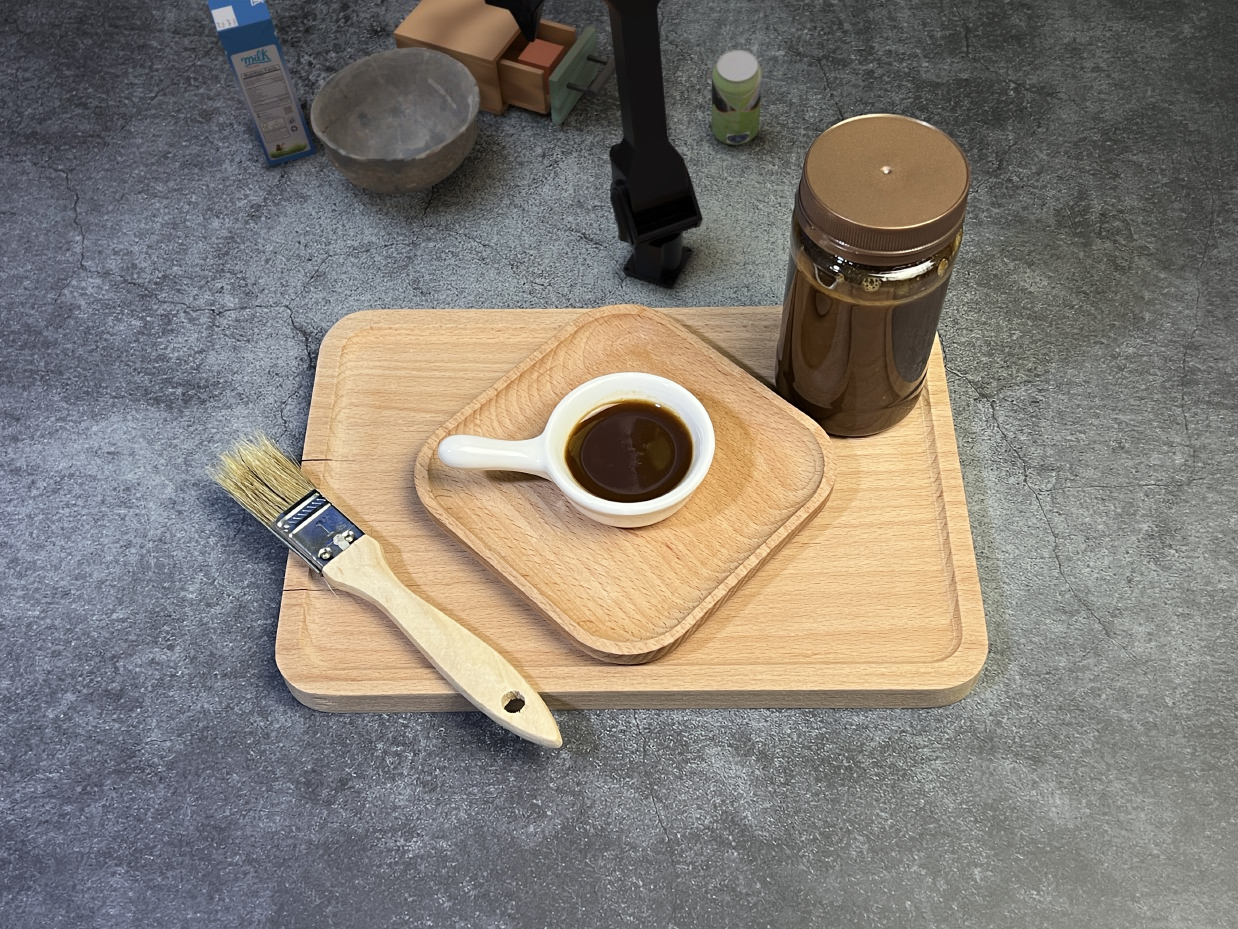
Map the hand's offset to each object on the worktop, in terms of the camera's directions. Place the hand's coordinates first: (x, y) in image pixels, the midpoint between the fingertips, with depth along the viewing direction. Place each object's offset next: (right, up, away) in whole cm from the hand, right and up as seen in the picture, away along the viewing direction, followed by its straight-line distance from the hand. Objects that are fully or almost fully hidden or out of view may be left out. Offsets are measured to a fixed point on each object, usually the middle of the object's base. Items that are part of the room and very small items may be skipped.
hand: (547, 19), depth 136 cm
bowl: (-18, -17, +5) cm, 25 cm away
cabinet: (-11, -2, +14) cm, 18 cm away
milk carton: (-35, -12, +9) cm, 38 cm away
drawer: (-1, -5, +11) cm, 12 cm away
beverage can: (+24, -13, +6) cm, 28 cm away
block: (-1, -4, +10) cm, 11 cm away
